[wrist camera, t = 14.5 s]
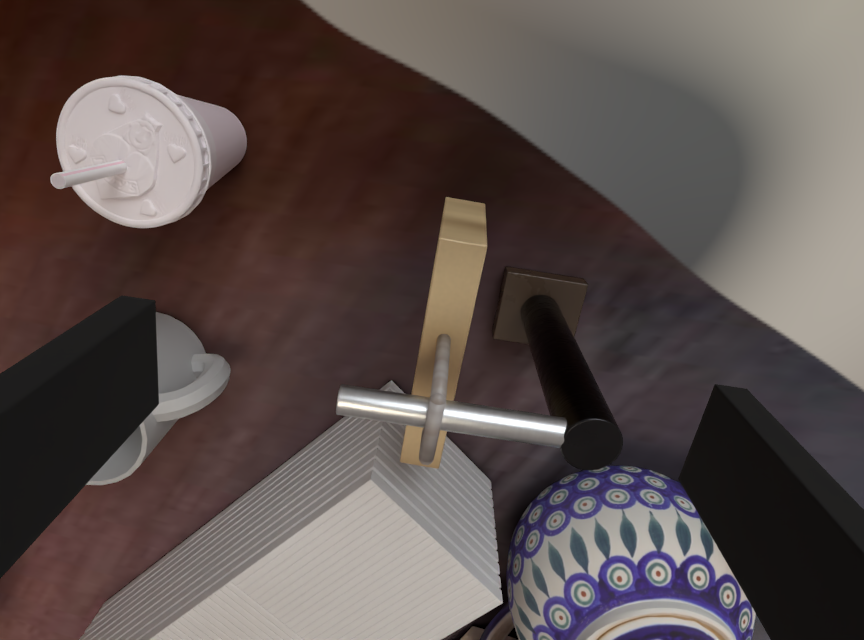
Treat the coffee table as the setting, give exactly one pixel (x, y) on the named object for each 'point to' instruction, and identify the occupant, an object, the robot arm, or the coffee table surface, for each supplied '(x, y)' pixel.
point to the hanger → (446, 324)
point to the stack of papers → (328, 552)
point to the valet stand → (557, 369)
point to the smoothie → (143, 149)
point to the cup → (169, 395)
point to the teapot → (618, 565)
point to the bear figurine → (478, 634)
